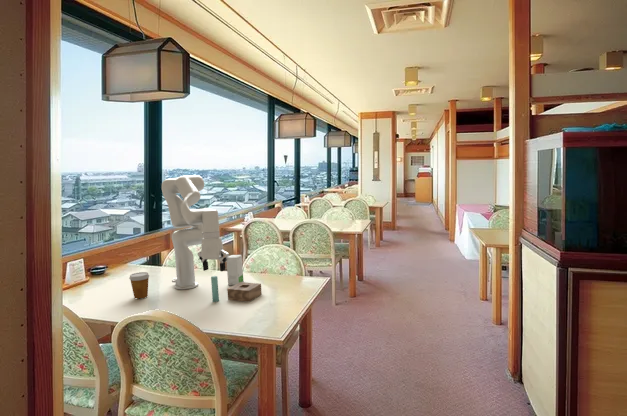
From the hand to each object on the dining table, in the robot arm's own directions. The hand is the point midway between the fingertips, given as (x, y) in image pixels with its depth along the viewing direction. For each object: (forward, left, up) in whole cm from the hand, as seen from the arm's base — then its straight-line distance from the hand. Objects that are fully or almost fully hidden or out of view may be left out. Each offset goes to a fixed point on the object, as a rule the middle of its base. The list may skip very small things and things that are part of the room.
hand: (214, 270), depth 201 cm
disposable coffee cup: (-43, -5, -16) cm, 45 cm away
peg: (-1, 0, -15) cm, 15 cm away
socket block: (+10, +9, -15) cm, 21 cm away
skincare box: (-8, +29, -16) cm, 34 cm away
